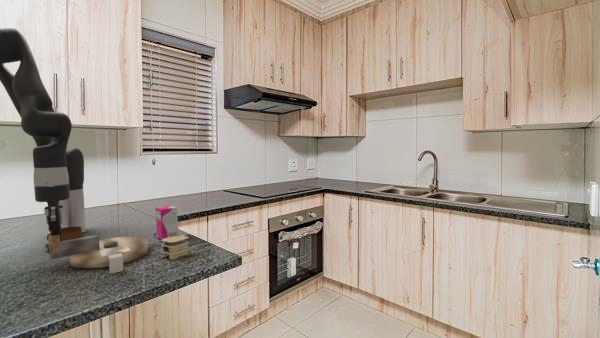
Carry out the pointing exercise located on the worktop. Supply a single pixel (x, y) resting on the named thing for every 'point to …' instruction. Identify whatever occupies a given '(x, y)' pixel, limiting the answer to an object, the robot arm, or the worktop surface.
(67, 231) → the cup and saucer
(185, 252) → the beige layered block
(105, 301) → the worktop surface
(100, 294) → the worktop surface
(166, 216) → the supplement box
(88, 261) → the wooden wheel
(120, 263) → the white block
